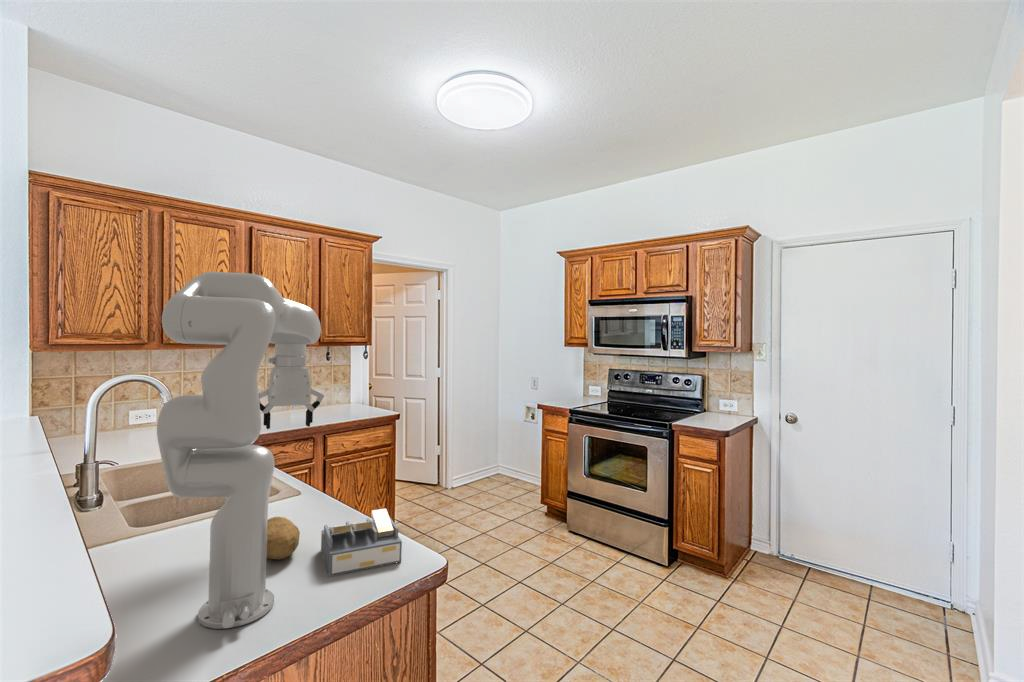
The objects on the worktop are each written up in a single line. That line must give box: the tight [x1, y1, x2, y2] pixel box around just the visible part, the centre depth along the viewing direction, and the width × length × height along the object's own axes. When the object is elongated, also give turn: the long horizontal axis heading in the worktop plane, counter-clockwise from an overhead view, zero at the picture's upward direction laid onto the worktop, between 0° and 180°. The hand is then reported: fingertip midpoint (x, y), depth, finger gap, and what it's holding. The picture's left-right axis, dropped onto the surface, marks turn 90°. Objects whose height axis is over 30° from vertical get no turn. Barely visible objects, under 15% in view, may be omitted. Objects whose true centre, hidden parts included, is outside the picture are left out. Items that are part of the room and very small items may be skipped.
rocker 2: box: [349, 520, 373, 530], centre depth 115 cm, size 8×4×1 cm, turn 29°
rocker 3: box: [370, 508, 394, 537], centre depth 118 cm, size 8×4×1 cm, turn 28°
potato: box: [266, 516, 301, 561], centre depth 114 cm, size 10×14×8 cm
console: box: [320, 515, 403, 577], centre depth 115 cm, size 14×16×7 cm
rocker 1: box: [328, 524, 351, 534], centre depth 113 cm, size 8×4×1 cm, turn 29°
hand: (288, 426), depth 127 cm, fingers open, 9 cm apart
